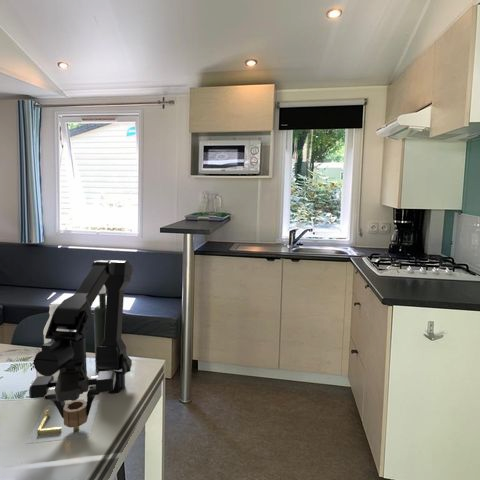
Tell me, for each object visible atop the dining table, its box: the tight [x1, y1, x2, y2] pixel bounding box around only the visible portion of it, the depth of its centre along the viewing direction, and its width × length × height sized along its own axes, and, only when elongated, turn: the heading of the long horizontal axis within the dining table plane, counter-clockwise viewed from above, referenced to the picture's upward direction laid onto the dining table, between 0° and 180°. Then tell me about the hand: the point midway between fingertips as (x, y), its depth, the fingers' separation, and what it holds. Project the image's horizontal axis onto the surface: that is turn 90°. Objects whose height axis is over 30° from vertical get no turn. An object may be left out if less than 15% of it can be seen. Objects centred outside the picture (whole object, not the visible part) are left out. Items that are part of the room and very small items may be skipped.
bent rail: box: [37, 409, 62, 436], centre depth 95 cm, size 8×6×2 cm
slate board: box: [25, 400, 100, 445], centre depth 97 cm, size 16×14×1 cm
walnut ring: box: [63, 399, 88, 427], centre depth 92 cm, size 5×5×4 cm
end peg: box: [73, 426, 79, 432], centre depth 92 cm, size 1×1×4 cm
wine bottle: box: [93, 285, 107, 374], centre depth 124 cm, size 6×6×30 cm
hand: (75, 416), depth 92 cm, fingers closed on walnut ring, 5 cm apart
